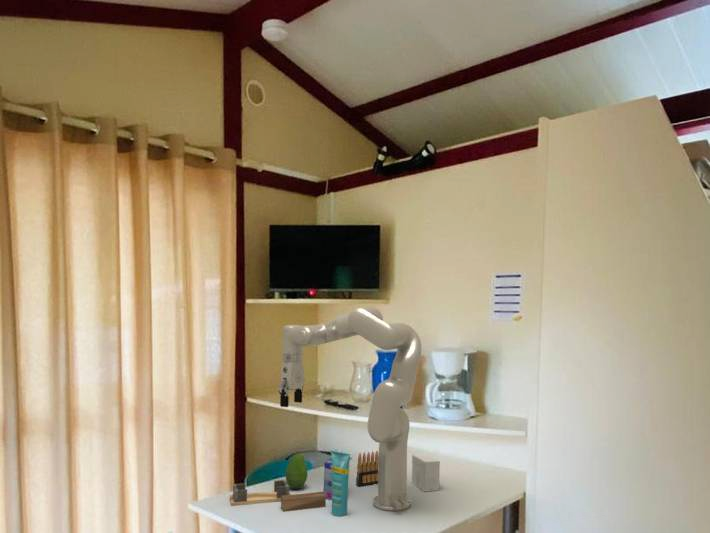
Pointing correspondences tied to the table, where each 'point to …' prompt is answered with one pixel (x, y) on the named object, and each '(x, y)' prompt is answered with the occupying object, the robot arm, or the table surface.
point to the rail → (258, 494)
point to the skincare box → (425, 472)
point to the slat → (303, 501)
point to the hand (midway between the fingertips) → (291, 404)
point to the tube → (339, 482)
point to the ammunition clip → (367, 470)
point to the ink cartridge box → (328, 479)
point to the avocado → (296, 472)
